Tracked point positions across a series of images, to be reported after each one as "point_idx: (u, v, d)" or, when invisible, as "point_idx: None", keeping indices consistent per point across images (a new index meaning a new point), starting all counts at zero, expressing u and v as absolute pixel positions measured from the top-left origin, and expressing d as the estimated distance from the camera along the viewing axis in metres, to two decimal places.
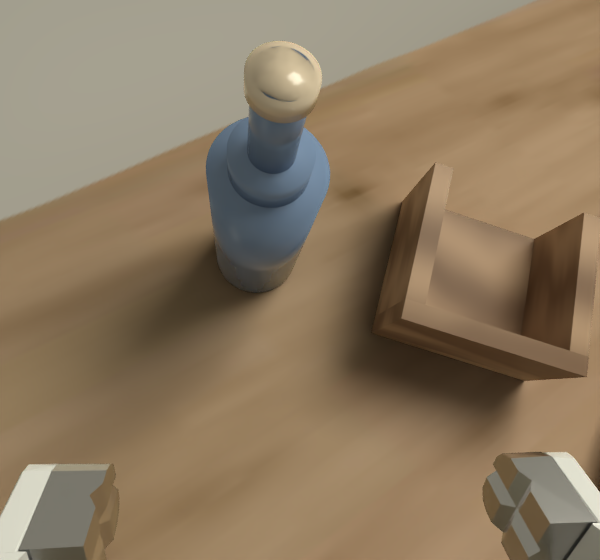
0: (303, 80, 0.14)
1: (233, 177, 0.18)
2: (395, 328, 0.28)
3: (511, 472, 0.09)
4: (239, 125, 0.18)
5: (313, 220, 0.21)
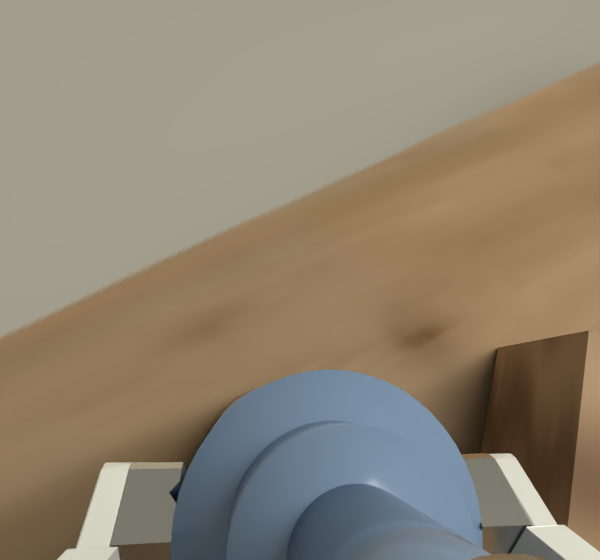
0: None
1: None
2: None
3: None
4: (263, 481, 0.06)
5: None
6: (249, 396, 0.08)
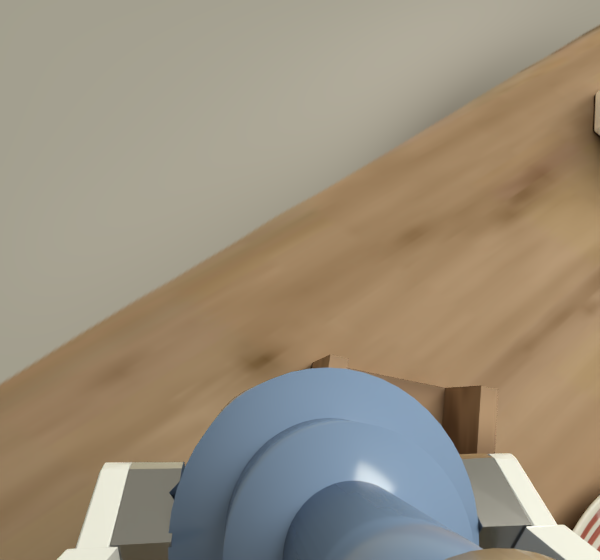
0: None
1: None
2: None
3: None
4: (260, 478, 0.06)
5: None
6: (246, 394, 0.08)
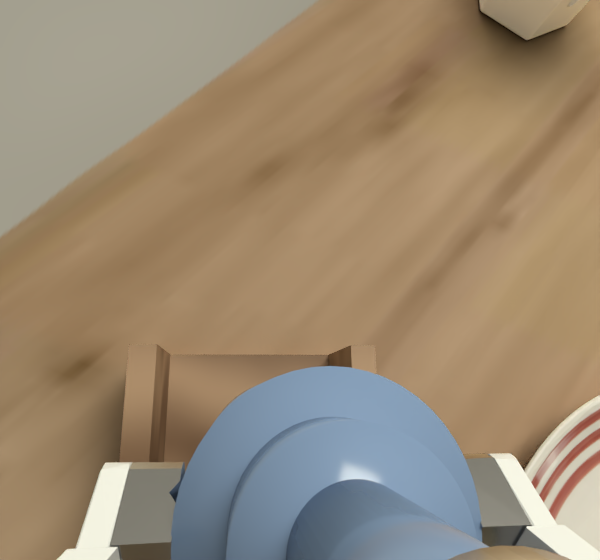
0: None
1: None
2: None
3: None
4: (263, 476, 0.06)
5: None
6: (249, 392, 0.08)
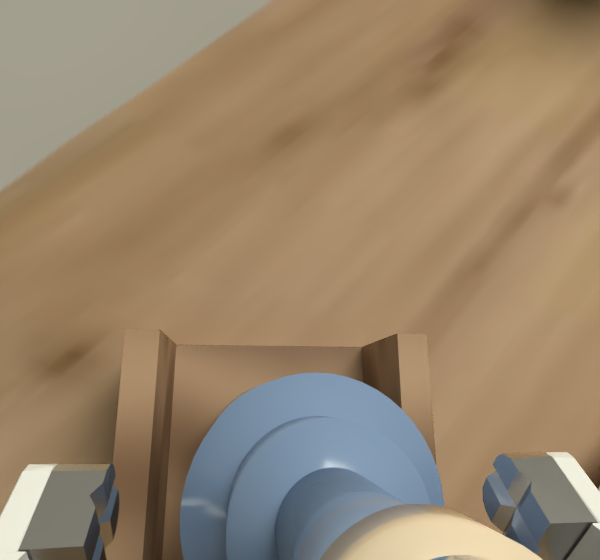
0: None
1: None
2: None
3: (512, 471, 0.09)
4: (256, 464, 0.08)
5: None
6: (246, 395, 0.09)
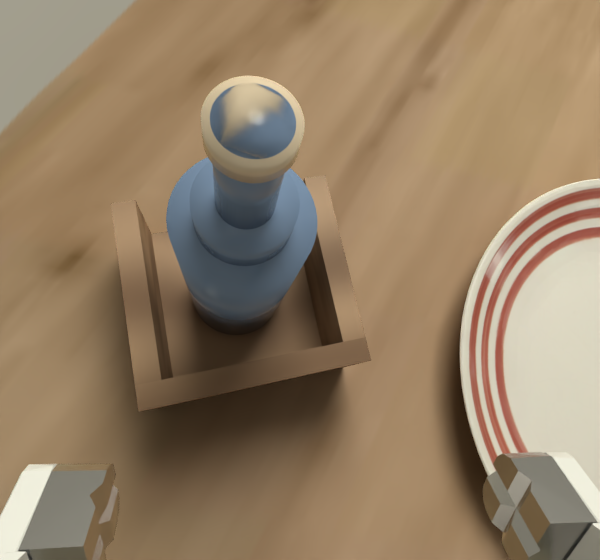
0: (281, 125, 0.10)
1: (204, 240, 0.15)
2: (160, 407, 0.23)
3: (511, 472, 0.09)
4: (199, 175, 0.15)
5: None
6: (192, 167, 0.16)
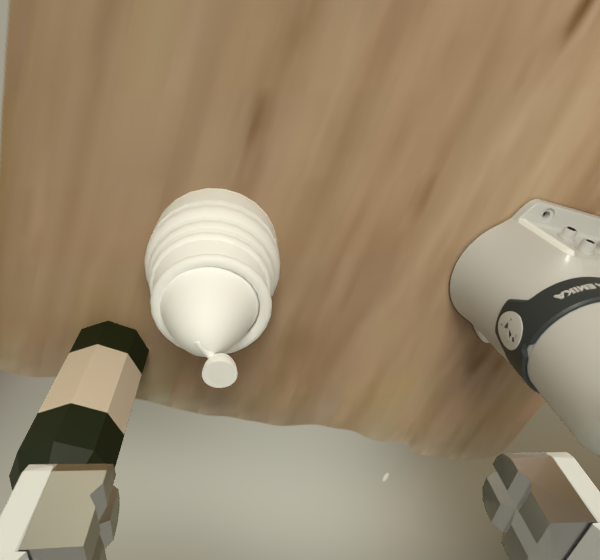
0: None
1: None
2: None
3: (511, 472, 0.09)
4: None
5: None
6: None
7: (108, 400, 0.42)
